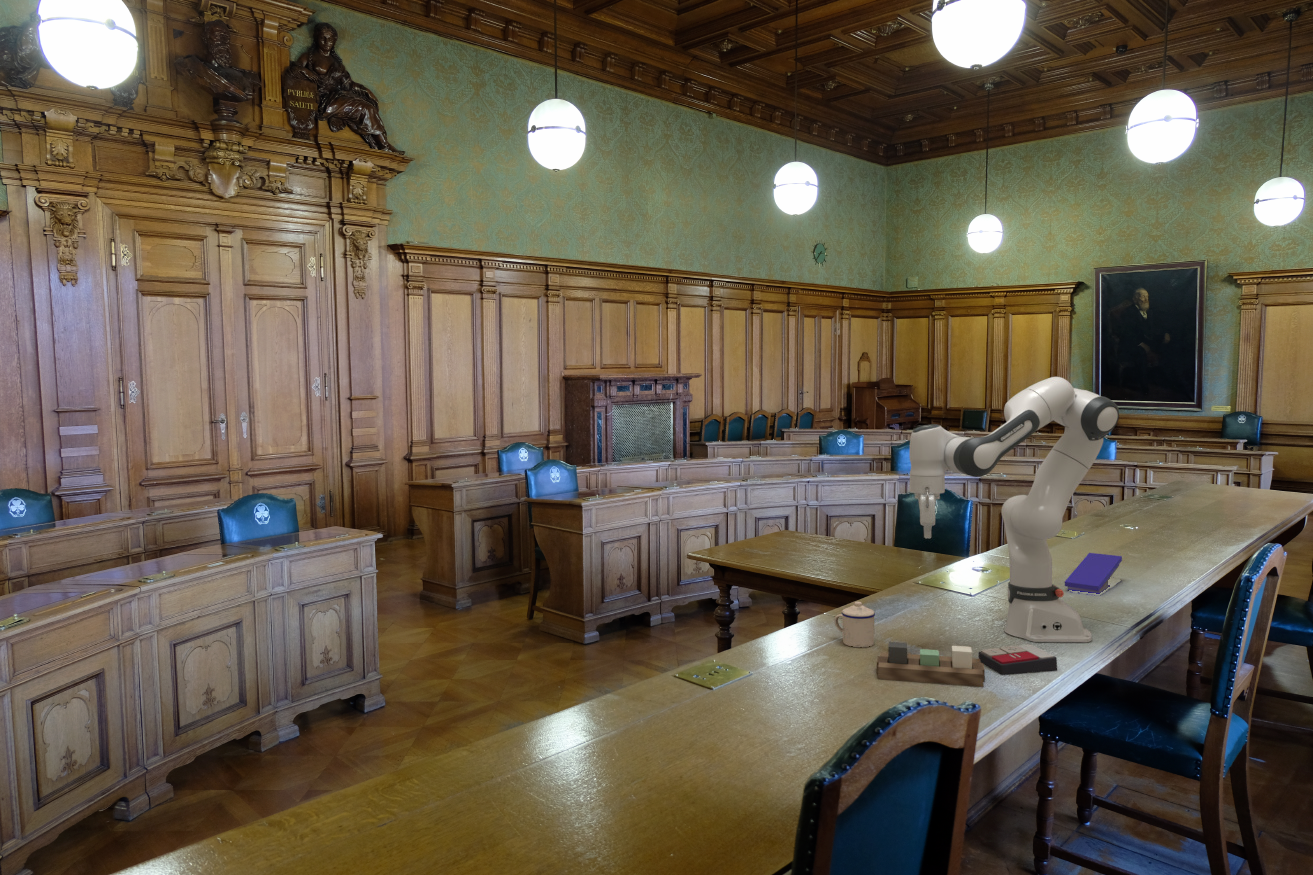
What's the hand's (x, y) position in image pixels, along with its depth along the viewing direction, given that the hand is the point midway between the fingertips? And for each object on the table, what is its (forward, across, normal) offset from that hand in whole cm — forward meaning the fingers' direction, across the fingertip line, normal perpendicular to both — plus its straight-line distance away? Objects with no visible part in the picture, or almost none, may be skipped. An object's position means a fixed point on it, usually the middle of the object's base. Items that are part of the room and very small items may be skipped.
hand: (927, 537), depth 218 cm
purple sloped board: (+32, +90, -56) cm, 110 cm away
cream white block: (+29, -18, -8) cm, 35 cm away
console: (+31, -18, 0) cm, 36 cm away
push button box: (+32, -6, -21) cm, 39 cm away
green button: (+30, -18, 0) cm, 35 cm away
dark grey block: (+29, -18, +7) cm, 35 cm away
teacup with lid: (+31, +5, +20) cm, 37 cm away
